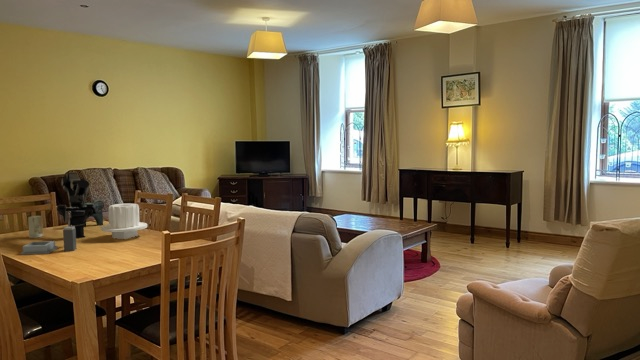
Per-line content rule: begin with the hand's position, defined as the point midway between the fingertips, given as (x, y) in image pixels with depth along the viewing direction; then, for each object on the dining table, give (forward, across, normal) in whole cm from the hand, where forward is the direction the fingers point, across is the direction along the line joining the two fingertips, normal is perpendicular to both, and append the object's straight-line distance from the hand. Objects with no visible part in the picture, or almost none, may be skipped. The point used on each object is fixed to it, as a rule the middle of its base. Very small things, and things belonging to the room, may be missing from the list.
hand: (73, 222), depth 252 cm
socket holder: (+14, -15, +4) cm, 21 cm away
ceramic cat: (-34, -11, +53) cm, 64 cm away
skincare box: (-13, -31, +32) cm, 47 cm away
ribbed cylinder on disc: (-6, +20, +25) cm, 33 cm away
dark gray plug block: (+14, 0, +4) cm, 15 cm away
